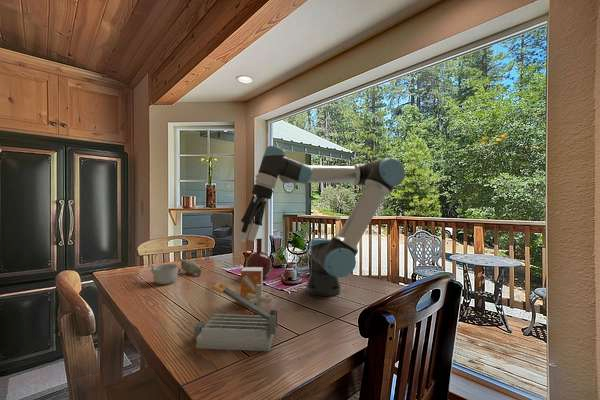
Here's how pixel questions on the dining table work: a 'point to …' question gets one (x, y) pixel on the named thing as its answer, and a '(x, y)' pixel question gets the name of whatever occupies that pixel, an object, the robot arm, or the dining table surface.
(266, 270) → the round-bottom flask
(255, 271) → the small box
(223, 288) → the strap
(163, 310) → the dining table surface
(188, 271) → the decorative bird
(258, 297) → the pipe connector
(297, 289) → the dining table surface
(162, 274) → the teacup
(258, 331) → the heatsink
